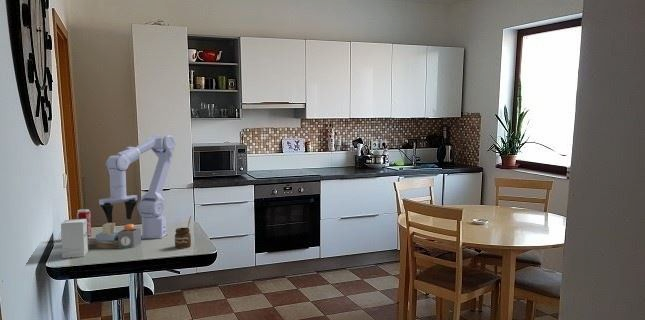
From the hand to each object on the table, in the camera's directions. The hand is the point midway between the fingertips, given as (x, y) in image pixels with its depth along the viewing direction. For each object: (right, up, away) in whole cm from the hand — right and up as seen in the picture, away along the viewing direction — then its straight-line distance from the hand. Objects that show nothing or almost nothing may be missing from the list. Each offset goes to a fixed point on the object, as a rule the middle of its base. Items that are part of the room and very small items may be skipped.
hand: (119, 220), depth 181 cm
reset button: (+4, -4, 0) cm, 6 cm away
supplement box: (-10, -11, -13) cm, 20 cm away
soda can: (-21, -9, +15) cm, 27 cm away
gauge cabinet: (+4, -10, +1) cm, 11 cm away
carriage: (-4, -7, 0) cm, 8 cm away
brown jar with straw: (+26, -10, -2) cm, 28 cm away
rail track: (-8, -10, 0) cm, 12 cm away
